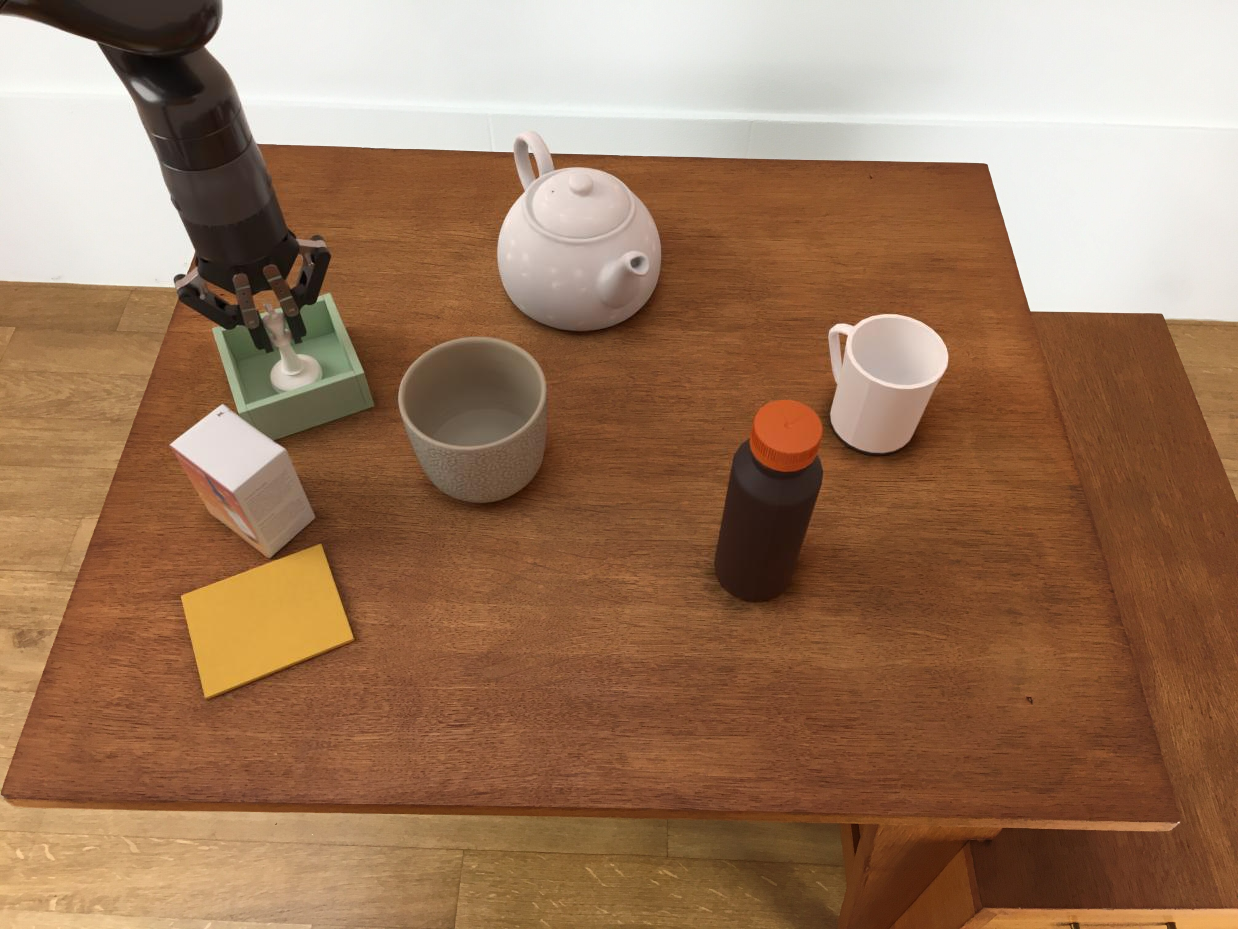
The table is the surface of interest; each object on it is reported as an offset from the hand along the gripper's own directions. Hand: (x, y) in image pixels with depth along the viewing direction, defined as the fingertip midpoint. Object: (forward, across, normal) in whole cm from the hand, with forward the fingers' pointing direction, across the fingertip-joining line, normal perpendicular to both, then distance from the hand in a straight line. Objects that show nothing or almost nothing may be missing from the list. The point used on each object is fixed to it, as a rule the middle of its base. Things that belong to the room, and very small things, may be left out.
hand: (282, 341), depth 90 cm
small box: (+6, +7, +14) cm, 17 cm away
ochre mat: (+6, +9, +24) cm, 26 cm away
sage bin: (+6, 0, 0) cm, 6 cm away
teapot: (+6, -31, -2) cm, 32 cm away
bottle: (+6, -30, +37) cm, 48 cm away
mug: (+6, -48, +27) cm, 56 cm away
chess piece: (+5, 0, 0) cm, 5 cm away
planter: (+6, -13, +17) cm, 22 cm away
